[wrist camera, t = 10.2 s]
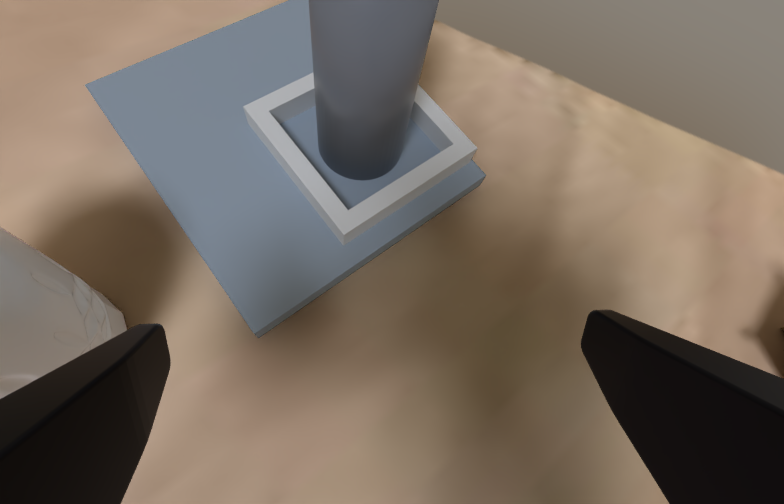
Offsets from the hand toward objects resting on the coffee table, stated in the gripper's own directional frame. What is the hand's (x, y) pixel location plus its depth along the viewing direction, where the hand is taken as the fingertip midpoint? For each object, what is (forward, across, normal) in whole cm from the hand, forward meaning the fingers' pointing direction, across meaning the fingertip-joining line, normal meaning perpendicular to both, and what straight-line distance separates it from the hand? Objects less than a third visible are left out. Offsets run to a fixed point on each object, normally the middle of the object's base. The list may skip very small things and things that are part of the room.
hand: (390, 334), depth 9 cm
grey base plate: (+20, +4, -1) cm, 20 cm away
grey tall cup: (+18, 0, -1) cm, 18 cm away
